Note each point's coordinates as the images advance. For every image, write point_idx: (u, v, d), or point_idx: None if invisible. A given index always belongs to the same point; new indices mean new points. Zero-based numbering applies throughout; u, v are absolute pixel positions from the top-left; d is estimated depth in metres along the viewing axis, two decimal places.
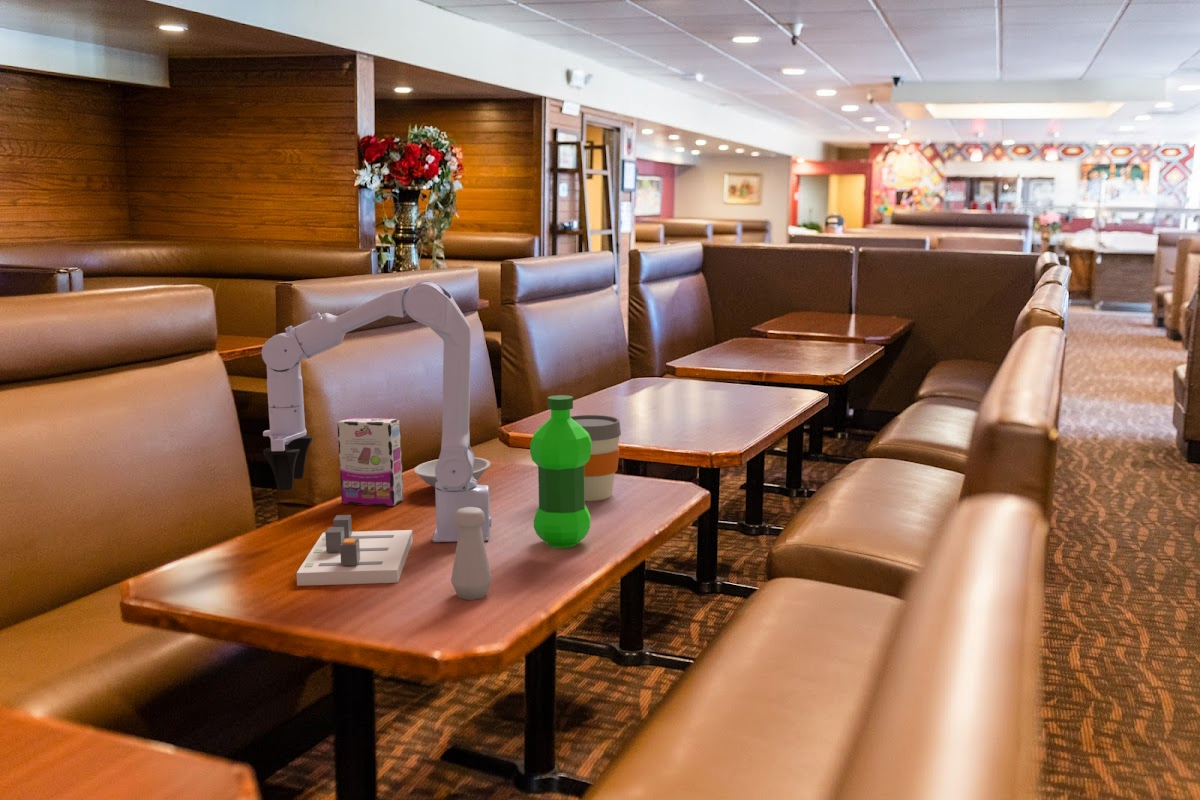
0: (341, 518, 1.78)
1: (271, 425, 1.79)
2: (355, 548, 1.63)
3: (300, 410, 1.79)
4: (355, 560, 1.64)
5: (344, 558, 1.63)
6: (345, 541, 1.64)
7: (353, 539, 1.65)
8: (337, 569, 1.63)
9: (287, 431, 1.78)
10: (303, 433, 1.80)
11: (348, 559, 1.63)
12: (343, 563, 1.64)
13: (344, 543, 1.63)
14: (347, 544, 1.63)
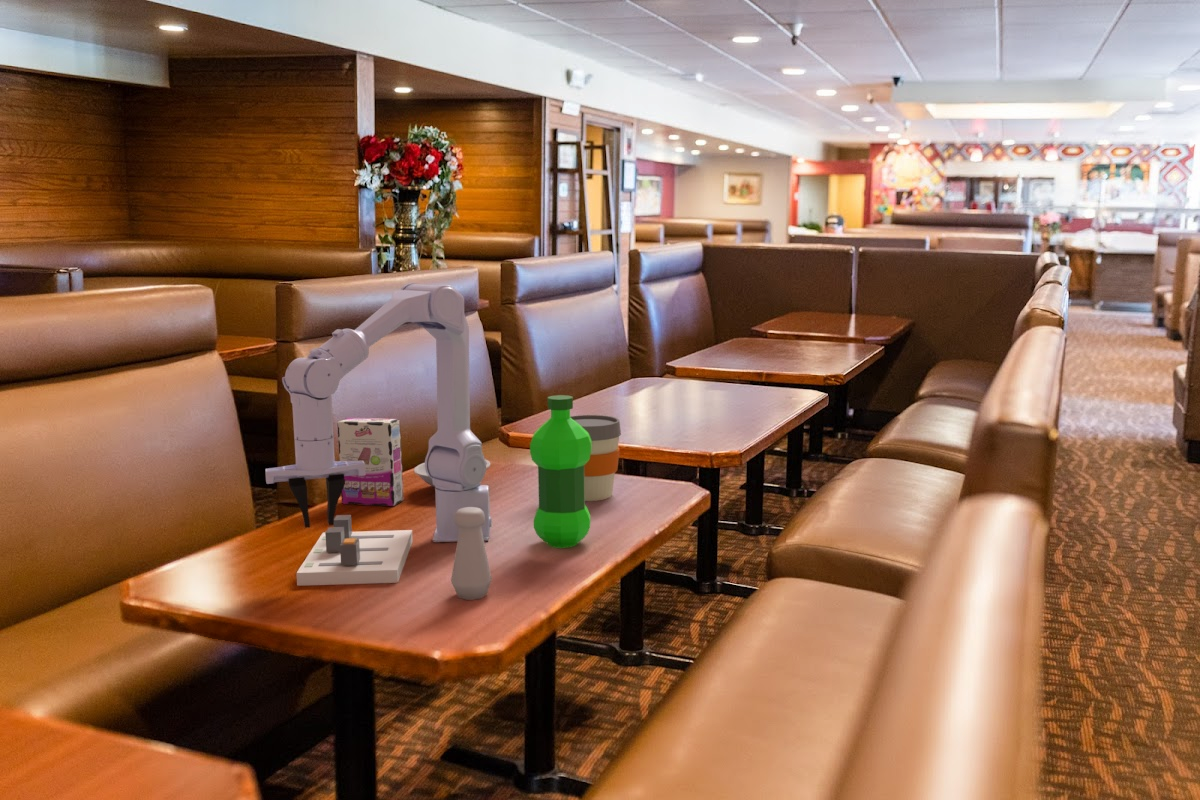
0: (341, 518, 1.78)
1: None
2: (355, 548, 1.63)
3: (308, 446, 1.59)
4: (355, 560, 1.64)
5: (344, 558, 1.63)
6: (345, 541, 1.64)
7: (353, 539, 1.65)
8: (337, 569, 1.63)
9: (296, 465, 1.61)
10: (309, 472, 1.59)
11: (348, 559, 1.63)
12: (343, 563, 1.64)
13: (344, 543, 1.63)
14: (347, 544, 1.63)
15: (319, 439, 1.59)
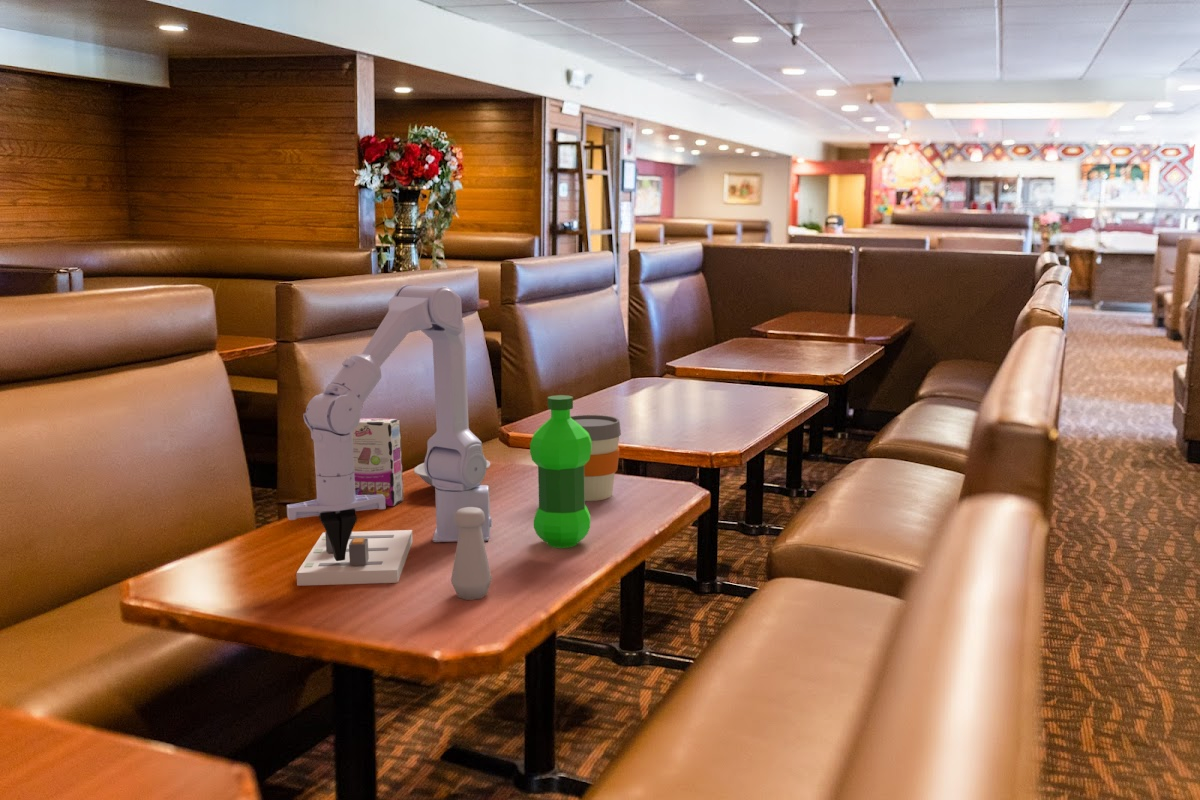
0: None
1: None
2: (364, 548, 1.63)
3: (330, 481, 1.60)
4: (364, 560, 1.64)
5: (353, 558, 1.64)
6: (354, 541, 1.64)
7: (362, 539, 1.65)
8: (337, 569, 1.63)
9: (318, 501, 1.62)
10: (332, 507, 1.60)
11: (356, 559, 1.64)
12: (352, 563, 1.64)
13: (353, 543, 1.64)
14: (356, 544, 1.63)
15: (342, 475, 1.60)
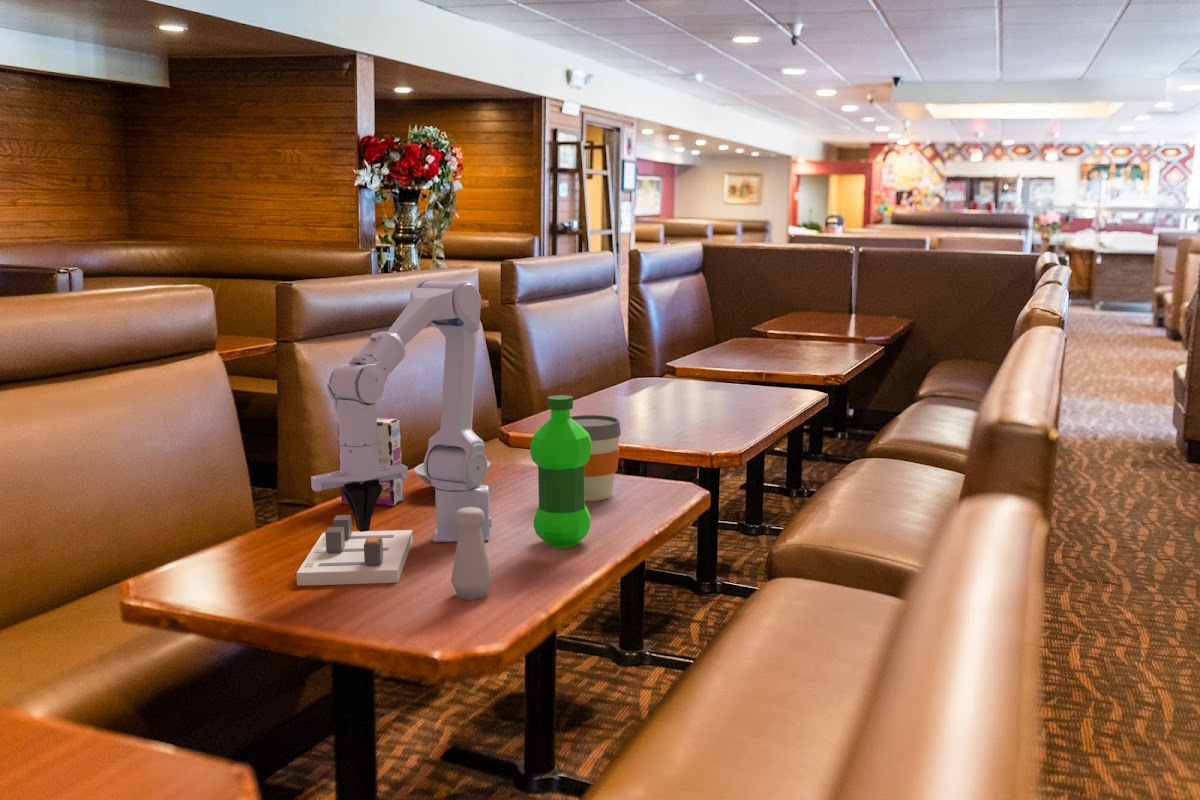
0: (341, 518, 1.78)
1: None
2: (379, 547, 1.64)
3: (357, 451, 1.59)
4: (379, 559, 1.64)
5: (368, 558, 1.64)
6: (368, 540, 1.64)
7: (376, 538, 1.65)
8: (337, 569, 1.63)
9: (343, 471, 1.61)
10: (359, 477, 1.60)
11: (371, 558, 1.64)
12: (367, 562, 1.64)
13: (368, 542, 1.64)
14: (371, 543, 1.64)
15: (368, 444, 1.60)
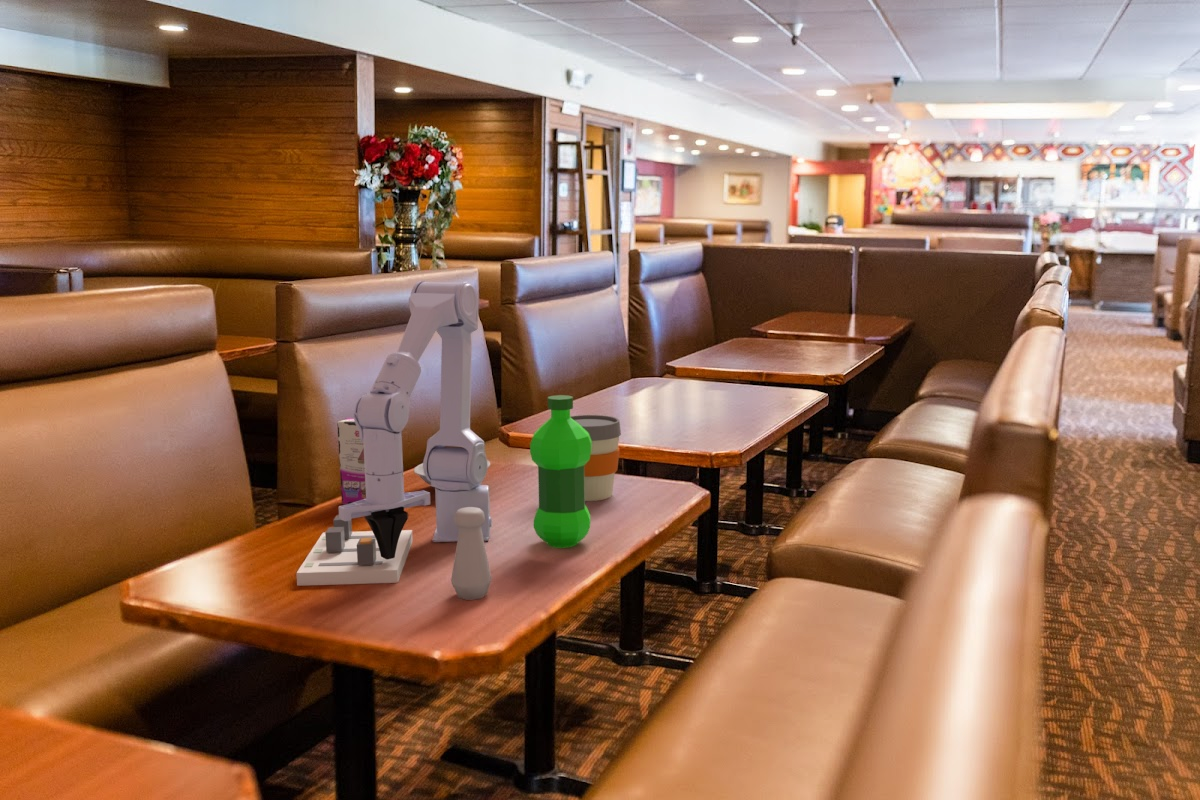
0: None
1: None
2: (372, 548, 1.64)
3: (385, 480, 1.60)
4: (372, 560, 1.64)
5: (361, 558, 1.64)
6: (362, 541, 1.64)
7: (369, 539, 1.65)
8: (337, 569, 1.63)
9: (370, 500, 1.62)
10: (387, 506, 1.61)
11: (364, 559, 1.64)
12: (360, 563, 1.64)
13: (361, 543, 1.64)
14: (364, 544, 1.64)
15: (396, 472, 1.61)
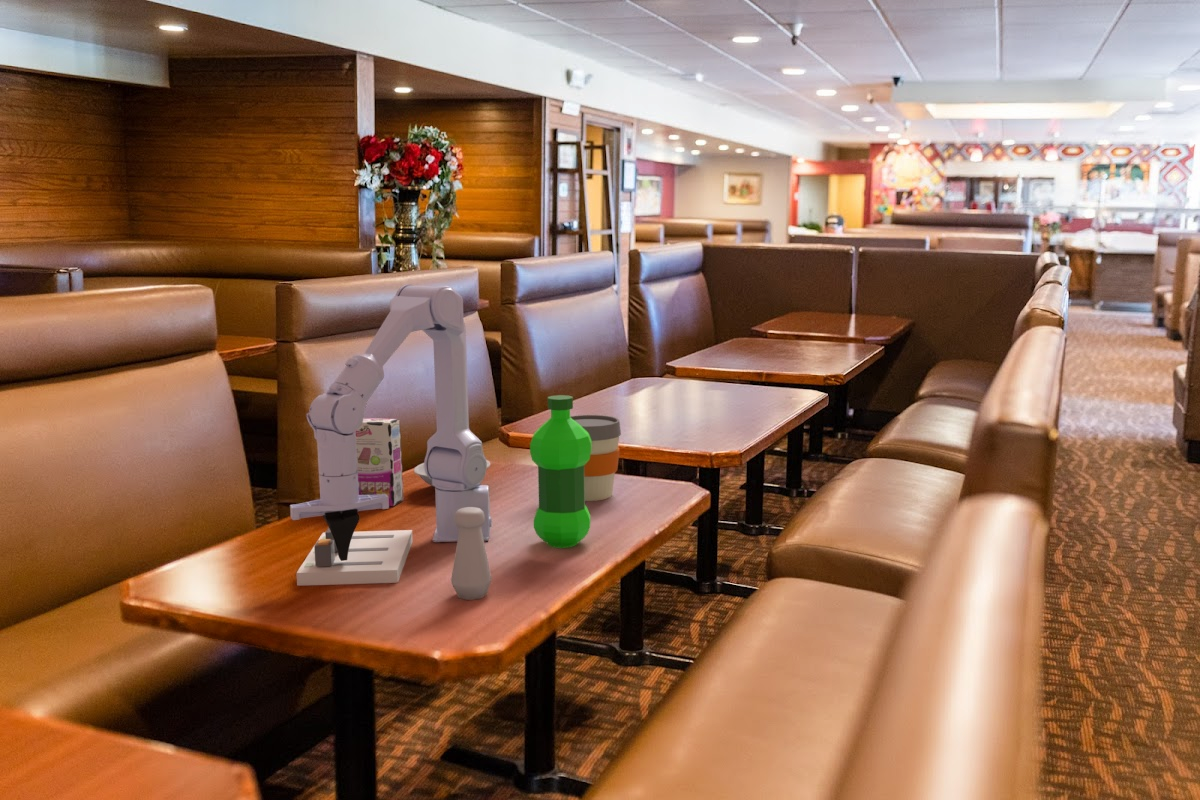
0: None
1: None
2: (329, 549, 1.63)
3: (334, 481, 1.60)
4: (329, 561, 1.63)
5: (319, 559, 1.63)
6: (319, 542, 1.64)
7: (328, 540, 1.65)
8: (337, 569, 1.63)
9: (322, 501, 1.62)
10: (336, 507, 1.60)
11: (322, 560, 1.63)
12: (317, 564, 1.63)
13: (318, 544, 1.63)
14: (321, 545, 1.63)
15: (345, 474, 1.60)
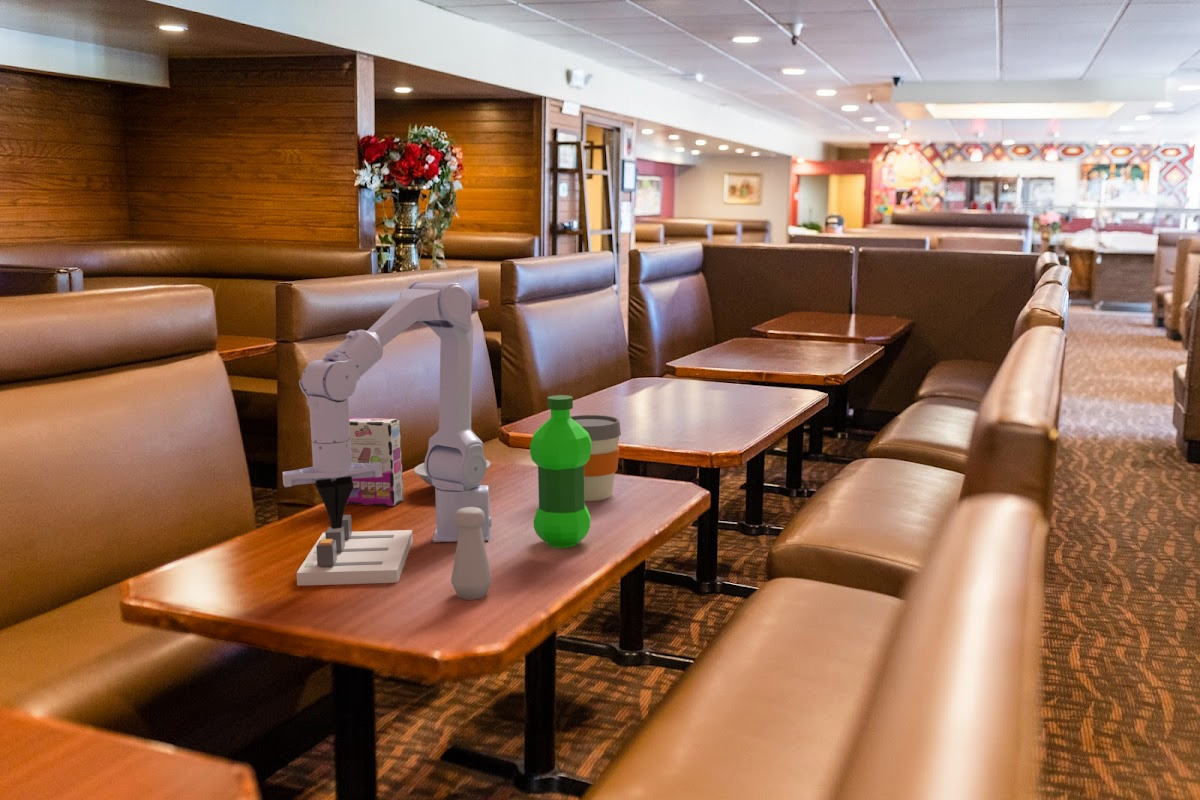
0: None
1: None
2: (331, 549, 1.63)
3: (326, 448, 1.59)
4: (331, 561, 1.63)
5: (321, 559, 1.63)
6: (321, 542, 1.64)
7: (330, 540, 1.65)
8: (337, 569, 1.63)
9: (314, 468, 1.61)
10: (328, 474, 1.60)
11: (324, 560, 1.63)
12: (319, 564, 1.63)
13: (320, 544, 1.63)
14: (323, 545, 1.63)
15: (338, 441, 1.59)
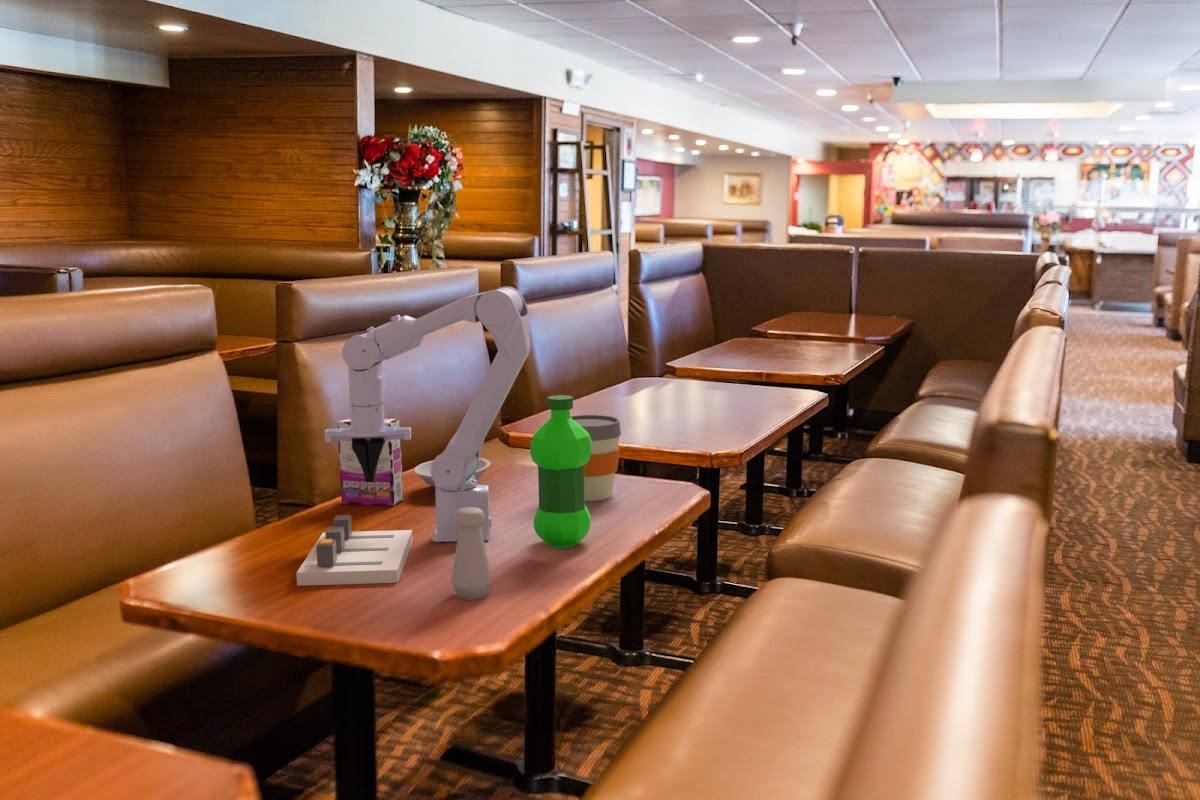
0: (341, 518, 1.78)
1: None
2: (331, 549, 1.63)
3: (358, 411, 1.82)
4: (331, 561, 1.63)
5: (321, 559, 1.63)
6: (321, 542, 1.64)
7: (330, 540, 1.65)
8: (337, 569, 1.63)
9: (351, 427, 1.84)
10: (359, 434, 1.82)
11: (324, 560, 1.63)
12: (319, 564, 1.63)
13: (320, 544, 1.63)
14: (323, 545, 1.63)
15: (367, 405, 1.82)
